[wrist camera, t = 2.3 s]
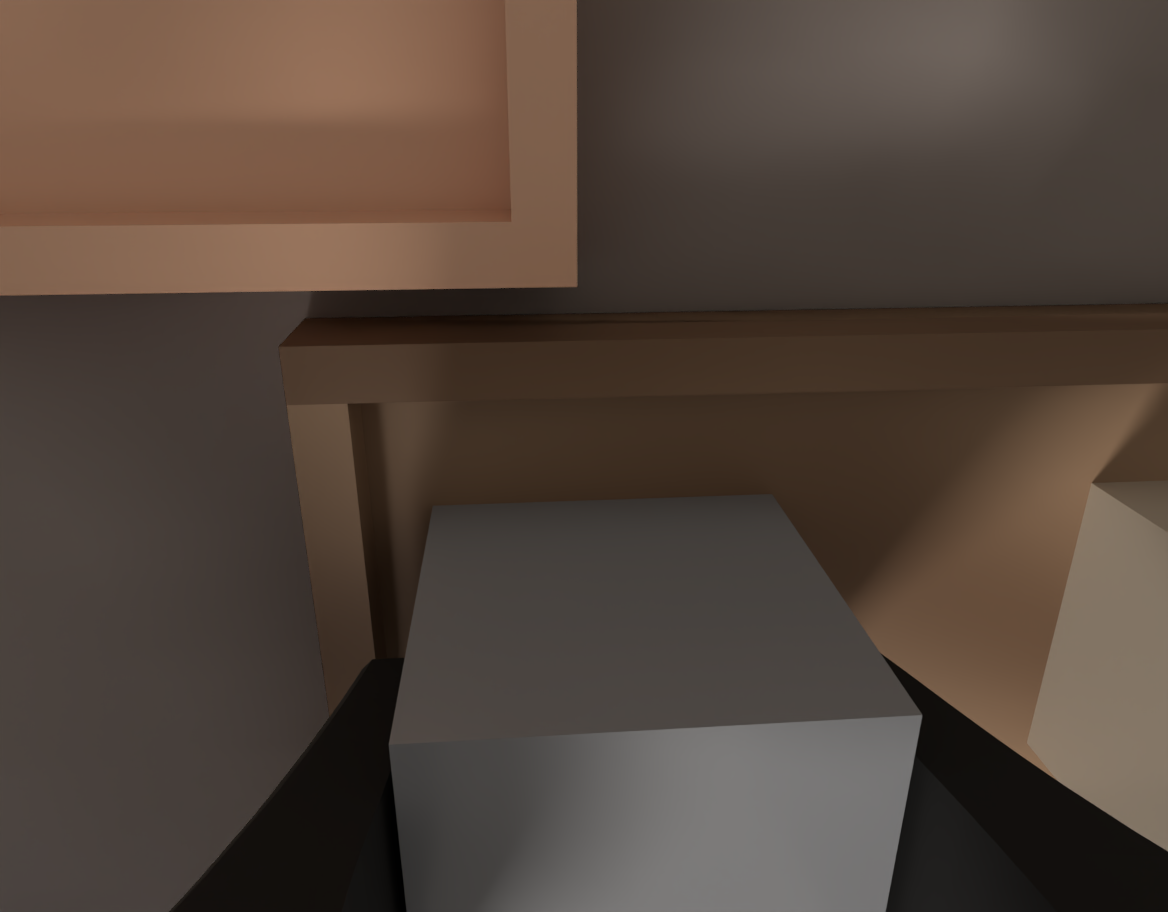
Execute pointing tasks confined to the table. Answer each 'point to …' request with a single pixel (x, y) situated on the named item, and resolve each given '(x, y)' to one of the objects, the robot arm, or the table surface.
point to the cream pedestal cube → (1113, 661)
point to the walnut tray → (745, 456)
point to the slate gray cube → (642, 716)
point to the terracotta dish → (287, 145)
